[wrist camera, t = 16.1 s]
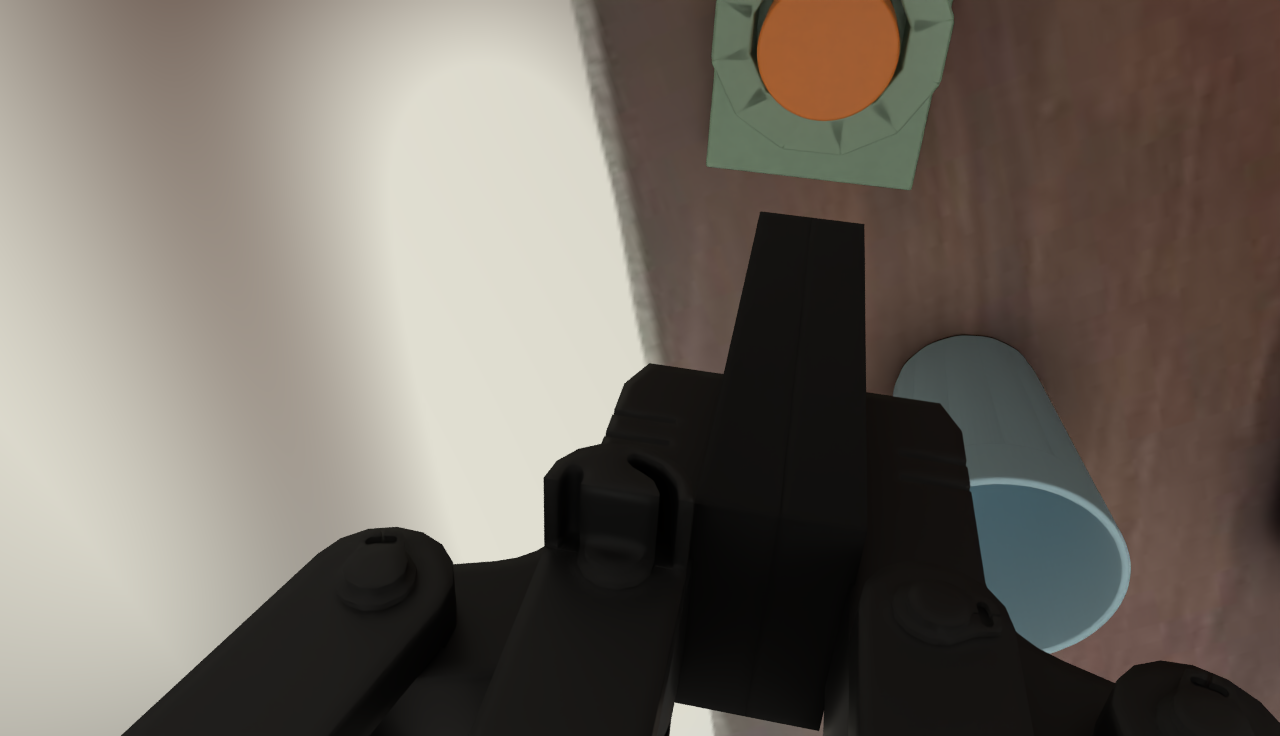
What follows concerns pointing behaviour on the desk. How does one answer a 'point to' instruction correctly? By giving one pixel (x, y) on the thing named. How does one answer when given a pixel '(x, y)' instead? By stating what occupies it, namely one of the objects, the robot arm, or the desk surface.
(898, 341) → the desk surface
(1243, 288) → the desk surface
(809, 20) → the button
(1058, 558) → the cup
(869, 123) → the button block
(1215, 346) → the desk surface
